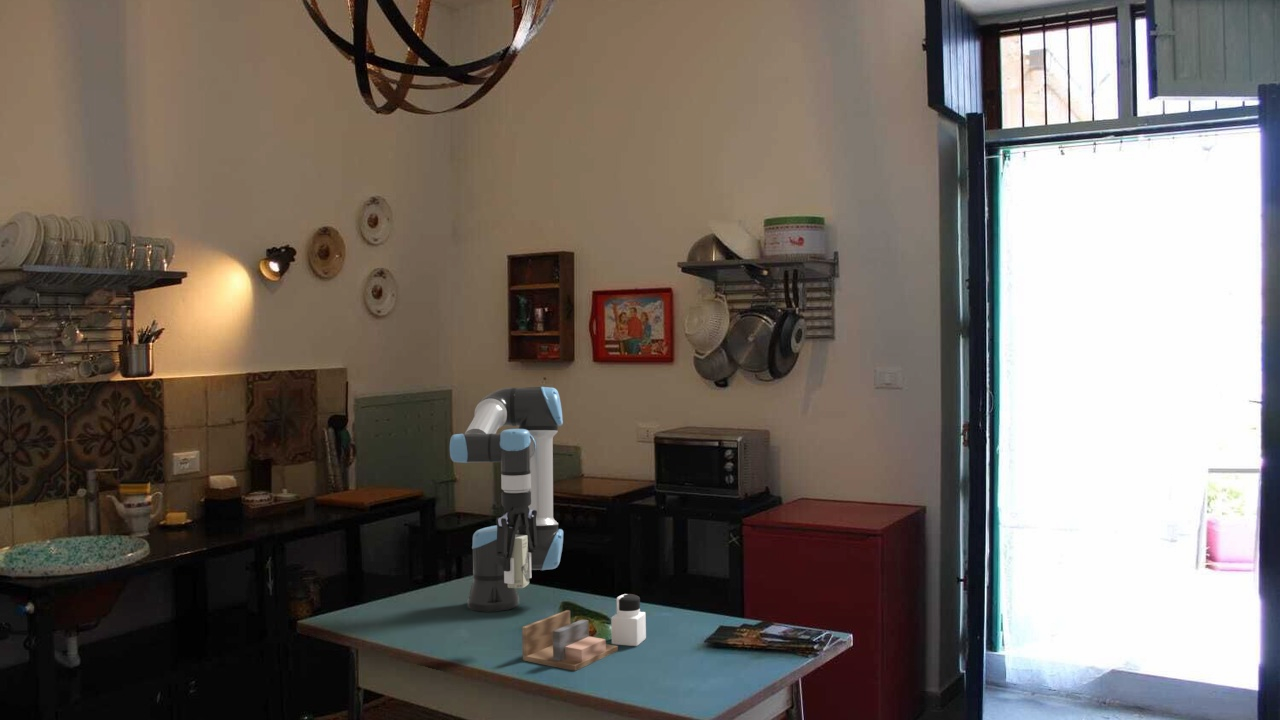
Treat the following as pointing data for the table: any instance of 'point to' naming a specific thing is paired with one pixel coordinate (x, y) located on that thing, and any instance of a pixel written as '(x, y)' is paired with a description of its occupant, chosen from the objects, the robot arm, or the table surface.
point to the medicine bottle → (628, 621)
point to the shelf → (545, 643)
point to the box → (520, 562)
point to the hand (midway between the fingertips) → (518, 580)
